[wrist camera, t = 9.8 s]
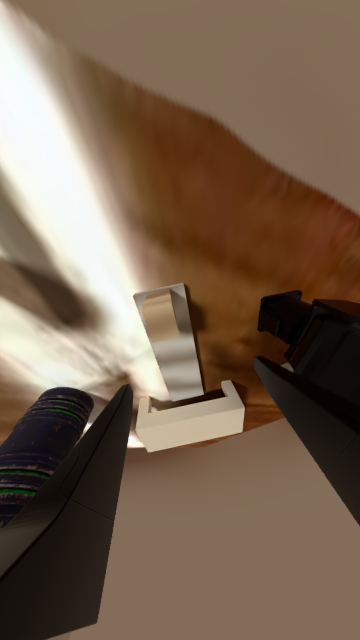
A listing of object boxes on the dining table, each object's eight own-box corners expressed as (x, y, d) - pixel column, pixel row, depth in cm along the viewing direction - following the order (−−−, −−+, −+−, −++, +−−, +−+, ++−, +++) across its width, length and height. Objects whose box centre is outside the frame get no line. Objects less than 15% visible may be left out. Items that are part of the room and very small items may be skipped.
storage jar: (102, 396, 28) (49, 526, 15) (83, 421, 31) (24, 548, 18) (48, 379, 25) (-86, 529, 11) (32, 409, 28) (-89, 556, 14)
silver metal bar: (135, 292, 20) (120, 314, 13) (182, 282, 20) (192, 298, 13) (171, 394, 31) (173, 435, 24) (201, 387, 31) (212, 426, 24)
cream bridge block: (230, 379, 30) (244, 407, 25) (229, 403, 34) (242, 432, 29) (140, 398, 30) (135, 430, 24) (150, 420, 34) (148, 452, 28)
